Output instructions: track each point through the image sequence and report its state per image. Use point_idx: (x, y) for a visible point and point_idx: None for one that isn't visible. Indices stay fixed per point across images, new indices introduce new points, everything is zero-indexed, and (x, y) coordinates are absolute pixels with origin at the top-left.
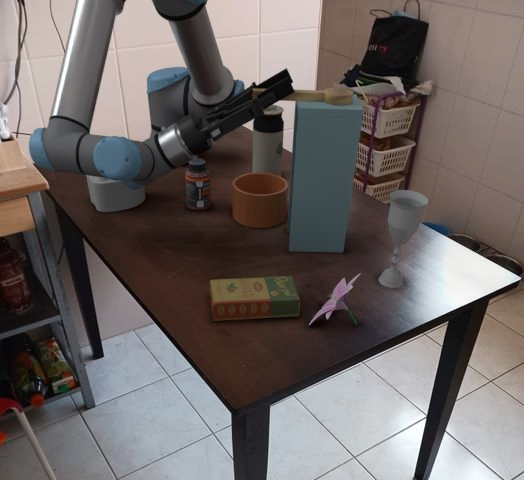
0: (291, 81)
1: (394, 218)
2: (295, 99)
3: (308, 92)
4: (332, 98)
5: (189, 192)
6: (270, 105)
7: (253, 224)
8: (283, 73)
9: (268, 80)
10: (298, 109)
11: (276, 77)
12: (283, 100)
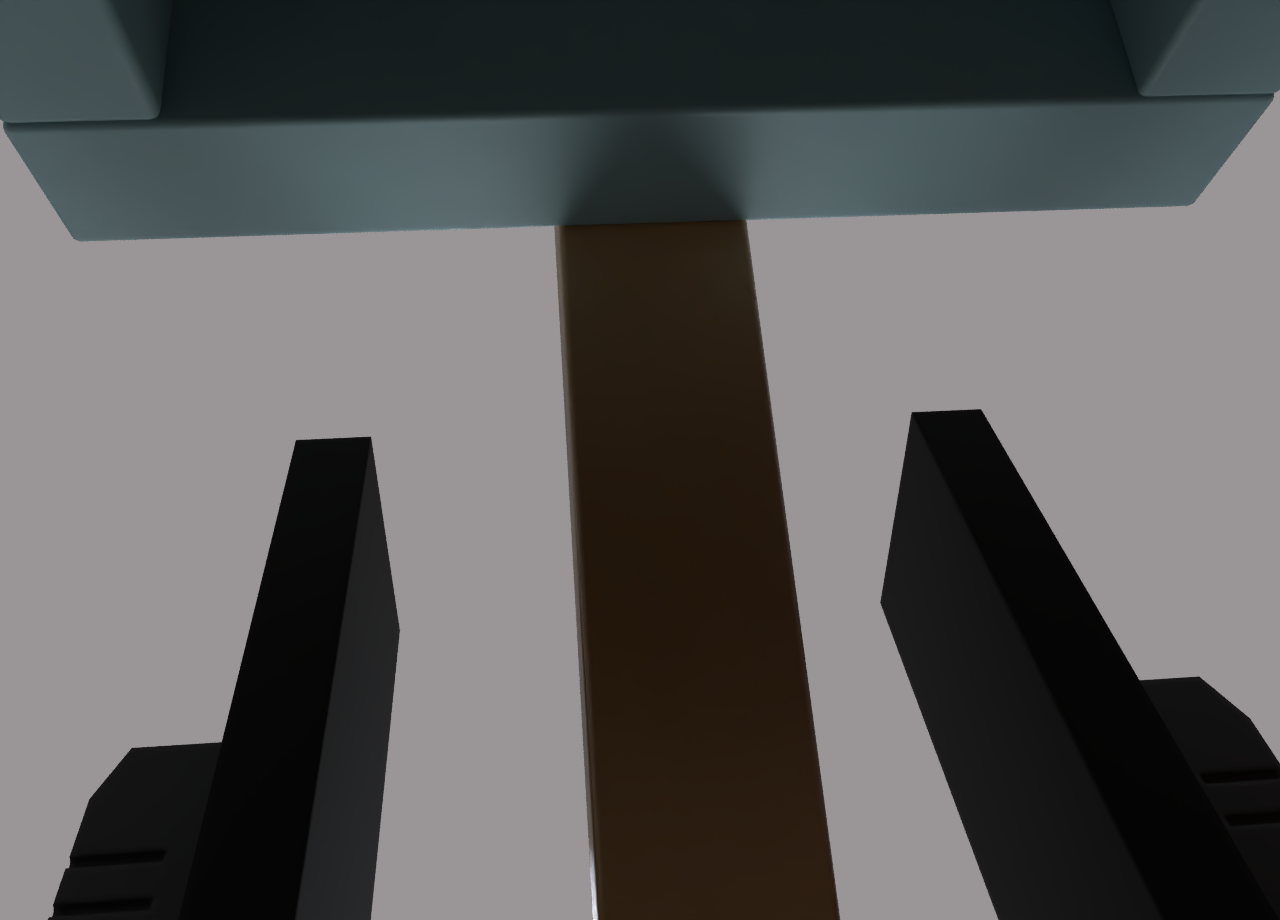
0: (911, 447)
1: None
2: (564, 285)
3: None
4: None
5: None
6: (198, 860)
7: None
8: (905, 631)
9: (994, 887)
10: (97, 217)
11: (940, 735)
12: (576, 510)
